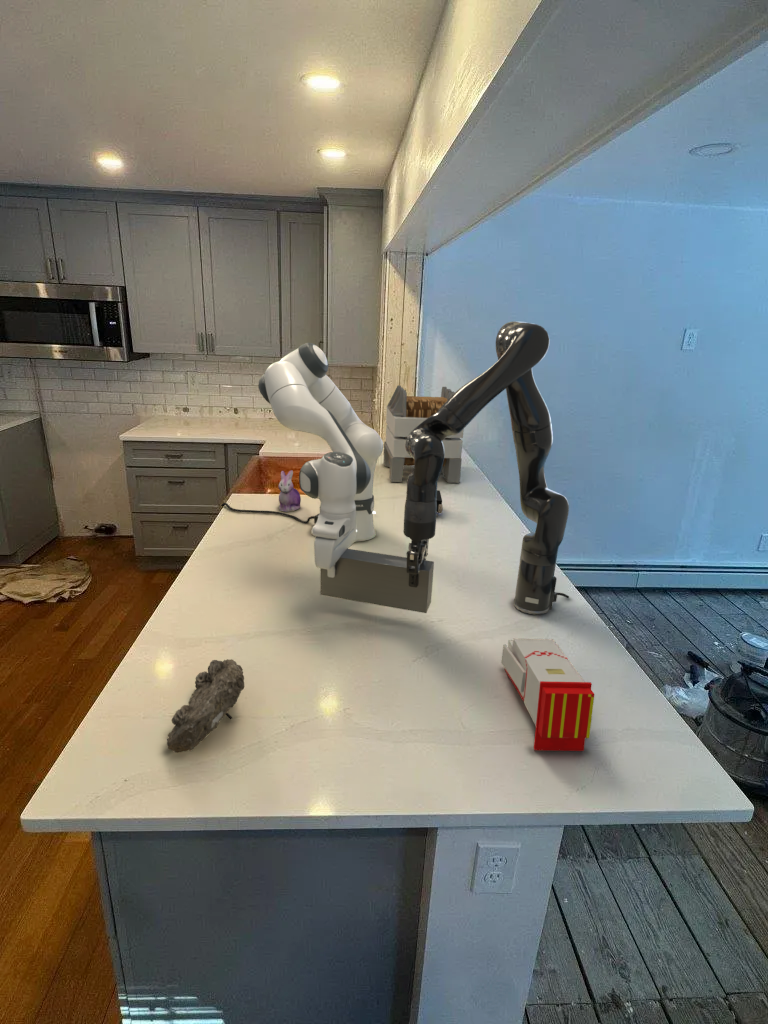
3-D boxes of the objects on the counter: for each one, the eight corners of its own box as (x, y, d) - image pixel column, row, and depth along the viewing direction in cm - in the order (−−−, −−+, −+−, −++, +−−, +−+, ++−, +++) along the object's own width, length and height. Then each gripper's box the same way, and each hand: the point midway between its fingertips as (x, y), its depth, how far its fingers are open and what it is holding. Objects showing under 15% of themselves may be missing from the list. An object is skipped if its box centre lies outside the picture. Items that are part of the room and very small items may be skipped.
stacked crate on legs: (382, 463, 289) (386, 382, 275) (445, 464, 293) (451, 384, 279) (390, 482, 257) (394, 392, 243) (460, 483, 261) (468, 394, 247)
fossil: (192, 660, 117) (244, 628, 112) (224, 691, 120) (276, 661, 115) (142, 746, 98) (202, 712, 93) (182, 779, 101) (242, 748, 96)
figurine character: (442, 522, 216) (438, 505, 229) (444, 504, 213) (440, 488, 226) (425, 521, 216) (422, 504, 229) (426, 504, 212) (423, 487, 226)
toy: (549, 621, 128) (604, 690, 99) (544, 676, 131) (595, 758, 101) (496, 620, 128) (535, 688, 98) (492, 675, 130) (528, 757, 101)
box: (320, 595, 144) (320, 554, 140) (328, 585, 149) (328, 545, 145) (426, 613, 137) (429, 571, 133) (431, 602, 142) (434, 561, 138)
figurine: (281, 513, 213) (281, 475, 208) (273, 505, 222) (272, 468, 217) (305, 510, 217) (305, 473, 212) (296, 502, 226) (296, 466, 221)
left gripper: (340, 504, 149) (339, 552, 154) (309, 531, 130) (309, 585, 135) (363, 507, 147) (361, 556, 152) (335, 535, 129) (334, 590, 134)
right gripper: (429, 528, 125) (425, 596, 131) (441, 508, 138) (437, 571, 144) (396, 524, 127) (393, 591, 133) (411, 504, 140) (408, 566, 146)
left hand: (336, 570), depth 143 cm, fingers closed on box, 6 cm apart
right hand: (416, 580), depth 138 cm, fingers closed on box, 5 cm apart
